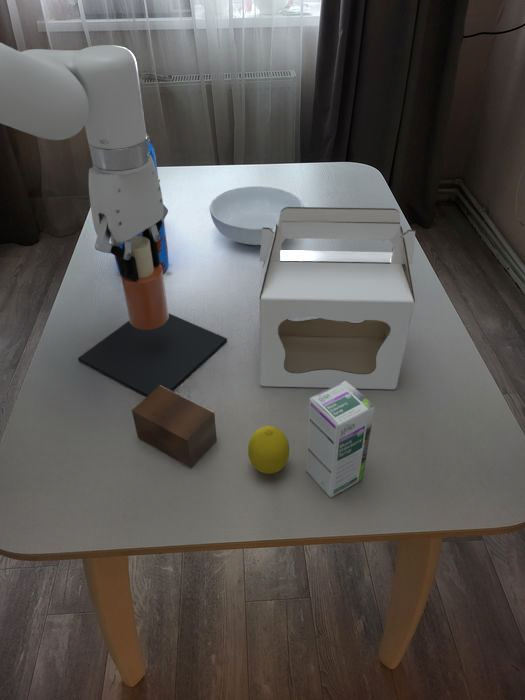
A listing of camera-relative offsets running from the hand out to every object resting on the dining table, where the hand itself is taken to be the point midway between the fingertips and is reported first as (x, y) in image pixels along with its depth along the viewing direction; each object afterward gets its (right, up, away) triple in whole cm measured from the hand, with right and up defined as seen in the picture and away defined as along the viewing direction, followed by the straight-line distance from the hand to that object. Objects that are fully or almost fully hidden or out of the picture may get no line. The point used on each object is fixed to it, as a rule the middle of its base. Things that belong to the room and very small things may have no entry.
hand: (140, 269), depth 85 cm
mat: (0, -13, +11) cm, 17 cm away
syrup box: (+28, -30, -9) cm, 42 cm away
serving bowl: (+18, +14, +42) cm, 48 cm away
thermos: (-6, +5, +31) cm, 32 cm away
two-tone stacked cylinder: (+2, -5, +8) cm, 10 cm away
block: (+6, -25, -4) cm, 27 cm away
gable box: (+29, -14, +9) cm, 34 cm away
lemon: (+20, -29, -8) cm, 36 cm away
